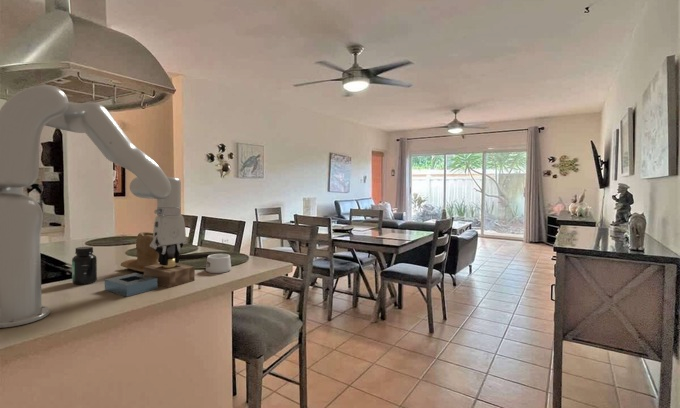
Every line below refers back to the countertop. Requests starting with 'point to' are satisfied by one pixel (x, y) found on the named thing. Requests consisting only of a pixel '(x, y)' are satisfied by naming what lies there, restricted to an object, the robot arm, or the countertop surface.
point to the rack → (171, 274)
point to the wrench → (191, 256)
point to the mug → (218, 263)
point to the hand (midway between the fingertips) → (169, 262)
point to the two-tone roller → (170, 257)
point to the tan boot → (143, 253)
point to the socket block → (130, 284)
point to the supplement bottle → (84, 266)
